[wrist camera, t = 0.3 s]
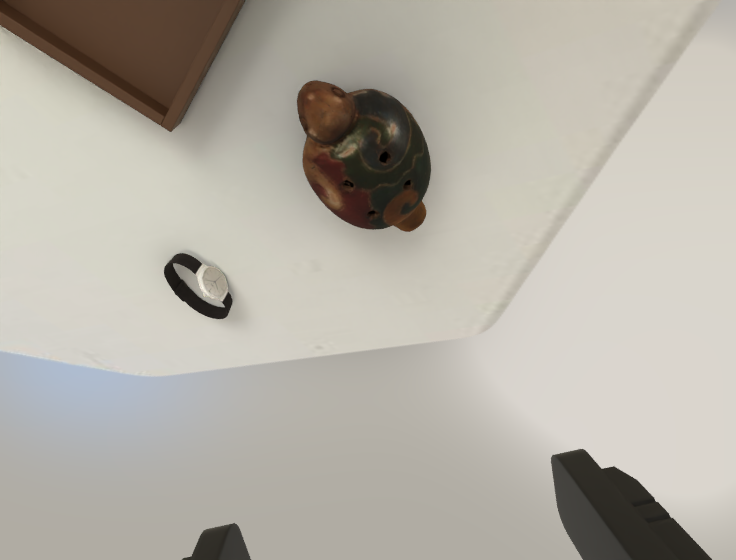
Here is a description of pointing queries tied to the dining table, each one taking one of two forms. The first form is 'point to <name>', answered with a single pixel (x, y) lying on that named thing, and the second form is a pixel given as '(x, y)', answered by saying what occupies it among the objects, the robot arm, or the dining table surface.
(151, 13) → the tray
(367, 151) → the decorative turtle
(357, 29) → the dining table surface
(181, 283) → the watch
